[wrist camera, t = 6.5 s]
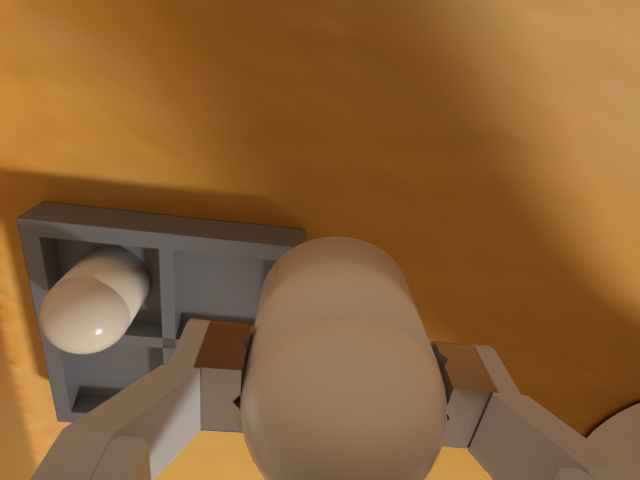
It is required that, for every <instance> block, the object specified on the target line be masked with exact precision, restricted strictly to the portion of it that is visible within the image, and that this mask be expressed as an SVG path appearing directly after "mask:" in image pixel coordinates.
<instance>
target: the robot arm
mask: <svg viewBox="0 0 640 480" xmlns="http://www.w3.org/2000/svg"><path fill="white" fill-rule="evenodd" d="M252 328H253V327H252V325H249V324H240V323H231V322H222V321H213V320H212V321H210V320H202V319H192V318H191V319H190V320H189V321H188V322H187V324H186V326H185V328H184V330H183V333H182V335H181V337H180V339H179V341H178V344H177V346H176V348H175V350H174V353H173V355H172V357H171V359H170V362H169V364H168V365H161V366H159V367H158V368H156V369H154V370H153V371H151V372H150V373H148V374H147V375H145V376H144V377H142V378H141V379H139V380H138V381H136V382H135V383H133V384H131V385H130V386H128V387H127V388H125V389H124V390H122V391H121V392H119V393H118V394H116V395H115V396H113V397H111V398H110V399H108V400H107V401H105V402H104V403H102V404H101V405H99V406H98V407H96V408H95V409H93V410H92V411H90V412H88V413H87V414H85V415H84V416H82V417H81V418H79V419H78V420H76V421H75V422H73V423H72V424H70V425H69V426H67V427H65V428H64V429H62V431H61V433H60V434H59V436H58V437H57V439H56V440H55V442H54V443H53V445H52V446H51V448H50V450H49V451H48V453H47V454H46V456H45V457H44V459H43V460H42V462H41V464H40V465H39V467H38V468H37V470H36V471H35V473H34V474H33V476H32V477H31V479H30V480H155V479H156V478H157V477H158V476H159V475H160V474H161V472H162V471H163V470H164V469H165V468H166V467H167V466H168V465H169V464H170V463H171V462H172V461H173V460H174V459H175V458H176V457H177V456H178V455H179V454H180V452H181V451H182V450H183V449H184V448H185V447H186V446H187V445H188V444H189V443H190V442H191V441H192V440H193V439H194V438H195V437H196V436H197V435H198V434H199V432H200V431H201V429H211V430H234V431H238V430H239V425H240V420H241V412H240V397H241V390H242V383H243V378H244V373H245V368H246V362H247V358H248V354H249V349H250V344H251V339H252ZM430 344H431V347H432V349H433V352H434V355H435V357H436V360H437V363H438V365H439V368H440V371H441V375H442V378H443V382H444V385H445V391H446V400H447V423H446V431H445V436H444V440H443V444H442V446H446V447H456V448H466V449H468V451H469V452H470V453H471V454H472V456H473V457H474V458H475V459H476V460H477V461H478V462H479V464H480V465H481V466H482V467H483V468H484V469H485V471H486V472H487V473H488V474H489V475H490V476H491V477H492V479H493V480H640V403H638V404H636V405H633V406H631V407H629V408H627V409H625V410H623V411H621V412H619V413H618V414H616V415H614V416H613V417H611V418H610V419H608V420H607V421H605V422H604V423H603V424H601V425H600V426H599V427H598V428H596V429H595V430H594V431H593V432H592V433H591V434H590V435H589V436H588V437H587V438H585V437H583V436H582V435H581V434H579V433H578V432H576V431H575V430H574V429H572V428H571V427H570V426H568V425H567V424H566V423H564V422H563V421H561V420H560V419H559V418H557V417H556V416H555V415H553V414H552V413H551V412H549V411H548V410H546V409H545V408H544V407H542V406H541V405H540V404H538V403H537V402H536V401H534V400H533V399H531V398H530V397H529V396H527V395H521V394H520V392H519V390H518V388H517V387H516V385H515V383H514V382H513V380H512V378H511V376H510V375H509V373H508V371H507V370H506V368H505V366H504V364H503V363H502V361H501V359H500V358H499V356H498V354H497V352H496V351H495V349H494V348H493V347H491V346H490V345H476V344H470V345H468V344H456V343H444V342H433V341H431V343H430Z"/></svg>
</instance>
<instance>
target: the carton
mask: <svg viewBox="0 0 640 480" xmlns="http://www.w3.org/2000/svg"><path fill="white" fill-rule="evenodd" d="M16 219H17V223H18V228H19V233H20V238H21V243H22V248H23V253H24V258H25V263H26V268H27V273H28V278H29V283H30V287H31V292H32V297H33V302H34V307H35V312H36V317H37V322H38V327H39V332H40V337H41V342H42V347H43V351H44V356H45V361H46V366H47V371H48V376H49V381H50V386H51V391H52V396H53V401H54V406H55V410H56V415H57V420H58V422H75V421H76V420H78V419H79V418H81V417H82V416H84V415H85V414H87V413H88V412H90V411H92V410H93V409H95V408H96V407H98V406H99V405H101V404H102V403H104V402H105V401H107V400H108V399H110V398H111V397H113V396H115V395H116V394H118V393H119V392H121V391H122V390H124V389H125V388H127V387H128V386H130V385H131V384H133V383H135V382H136V381H138V380H139V379H141V378H142V377H144V376H145V375H147V374H148V373H150V372H151V371H153V370H154V369H156V368H158V367H159V366H161V365H168V364H169V362H170V359H171V357H172V355H173V353H174V350H175V348H176V346H177V344H178V341H179V339H180V337H181V335H182V333H183V330H184V328H185V326H186V324H187V322H188V321H189V320H190V319H191V318H192V319H202V320H210V321H212V320H213V321H222V322H231V323H240V324H249V325H252V327H253V328H252V334H253V329H254V324H255V319H256V314H257V310H258V305H259V300H260V295H261V290H262V286H263V283H264V280H265V278H266V276H267V274H268V272H269V270H270V269H271V267H272V266H273V265H274V263H275V262H276V261H277V260H278V259H279V258H280V257H281V256H283V255H284V254H285V253H286V252H287V251H289V250H291V249H292V248H294V247H295V246H298V245H300V244H302V243H304V242H305V230H302V229H292V228H283V227H274V226H265V225H255V224H246V223H237V222H228V221H218V220H209V219H200V218H191V217H181V216H172V215H163V214H154V213H144V212H135V211H126V210H117V209H107V208H98V207H89V206H80V205H70V204H61V203H52V202H41V203H40V204H38V205H37V206H35V207H33V208H32V209H30V210H29V211H27V212H26V213H24V214H22V215H21V216H19V217H18V218H16ZM105 246H111V247H118V248H122V249H125V250H127V251H129V252H131V253H133V254H135V255H136V256H137V257H139V258H140V259H141V260H142V261H143V262H144V264H145V265H146V266H147V268H148V270H149V272H150V274H151V279H152V286H151V290H150V292H149V294H148V296H147V297H146V299H145V301H144V302H143V304H142V306H141V307H140V309H139V311H138V312H137V314H136V316H135V317H134V319H133V321H132V322H131V324H130V326H129V327H128V329H127V331H126V332H125V334H124V335H123V336H122V337H121V338H120V339H119V340H118V341H117V342H116V343H115V344H113V345H112V346H110V347H109V348H106V349H104V350H102V351H99V352H96V353H91V354H73V353H69V352H66V351H63V350H61V349H59V348H57V347H56V346H54V345H53V344H52V343H51V342H50V341H49V340H48V339H47V338H46V336H45V335H44V333H43V331H42V328H41V325H40V309H41V305H42V302H43V300H44V298H45V296H46V295H47V293H48V292H49V291H50V289H51V288H52V287H53V286H54V285H55V284H56V283H57V282H58V281H59V280H60V279H61V278H62V277H63V276H64V275H65V274H66V273H67V272H68V271H69V270H70V269H71V268H72V267H73V266H74V265H75V264H76V263H77V262H78V261H79V260H80V259H81V258H82V257H83V256H84V255H85V254H86V253H88V252H89V251H91V250H93V249H95V248H99V247H105ZM201 430H207V431H223V432H240V433H243V429H242V424H241V420H240V425H239V430H238V431H234V430H211V429H201Z"/></svg>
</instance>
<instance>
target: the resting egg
mask: <svg viewBox="0 0 640 480" xmlns="http://www.w3.org/2000/svg"><path fill="white" fill-rule="evenodd" d="M151 286H152V279H151V274H150V272H149V270H148V268H147V266H146V265H145V264H144V262H143V261H142V260H141V259H140V258H139V257H137V256H136V255H135V254H133V253H131V252H129V251H127V250H125V249H122V248H118V247H111V246H105V247H99V248H95V249H93V250H91V251H89V252H88V253H86V254H85V255H84V256H83V257H82V258H81V259H80V260H79V261H78V262H77V263H76V264H75V265H74V266H73V267H72V268H71V269H70V270H69V271H68V272H67V273H66V274H65V275H64V276H63V277H62V278H61V279H60V280H59V281H58V282H57V283H56V284H55V285H54V286H53V287H52V288H51V289H50V291H49V292H48V293H47V295H46V296H45V298H44V300H43V302H42V305H41V309H40V325H41V328H42V331H43V333H44V335H45V336H46V338H47V339H48V340H49V341H50V342H51V343H52V344H53V345H54V346H56V347H57V348H59V349H61V350H63V351H66V352H69V353H73V354H91V353H96V352H99V351H102V350H104V349H106V348H109V347H110V346H112V345H113V344H115V343H116V342H117V341H118V340H119V339H120V338H121V337H122V336H123V335H124V334H125V332H126V331H127V329H128V327H129V326H130V324H131V322H132V321H133V319H134V317H135V316H136V314H137V312H138V311H139V309H140V307H141V306H142V304H143V302H144V301H145V299H146V297H147V296H148V294H149V292H150V290H151Z"/></svg>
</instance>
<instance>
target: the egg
mask: <svg viewBox="0 0 640 480" xmlns="http://www.w3.org/2000/svg"><path fill="white" fill-rule="evenodd" d="M240 412H241V424H242V429H243V434H244V438H245V442H246V445H247V447H248V450H249V452H250V455H251V457H252V459H253V462H254V463H255V465H256V466H257V468H258V470H259V471H260V473H261V474H262V476H263V477H264V479H265V480H425V478H426V477H427V475H428V474H429V472H430V471H431V469H432V468H433V466H434V464H435V462H436V460H437V457H438V455H439V453H440V450H441V447H442V444H443V440H444V436H445V431H446V423H447V400H446V391H445V385H444V382H443V378H442V375H441V371H440V368H439V365H438V363H437V360H436V357H435V355H434V352H433V349H432V347H431V344H430V341H429V339H428V336H427V333H426V331H425V328H424V326H423V323H422V320H421V318H420V315H419V312H418V310H417V307H416V304H415V302H414V299H413V296H412V294H411V291H410V288H409V286H408V283H407V280H406V278H405V276H404V274H403V271H402V270H401V268H400V267H399V265H398V264H397V262H396V261H395V260H394V259H393V258H392V257H391V256H390V255H389V254H387V253H386V252H385V251H384V250H382V249H380V248H379V247H377V246H375V245H373V244H371V243H369V242H366V241H363V240H360V239H356V238H351V237H341V236H332V237H322V238H317V239H313V240H310V241H307V242H304V243H302V244H300V245H298V246H295V247H294V248H292V249H291V250H289V251H287V252H286V253H285V254H284V255H283V256H281V257H280V258H279V259H278V260H277V261H276V262H275V263H274V265H273V266H272V267H271V269H270V270H269V272H268V274H267V276H266V278H265V280H264V283H263V286H262V290H261V295H260V300H259V305H258V310H257V314H256V319H255V324H254V329H253V334H252V339H251V344H250V349H249V354H248V358H247V362H246V368H245V373H244V378H243V383H242V390H241V397H240Z"/></svg>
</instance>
